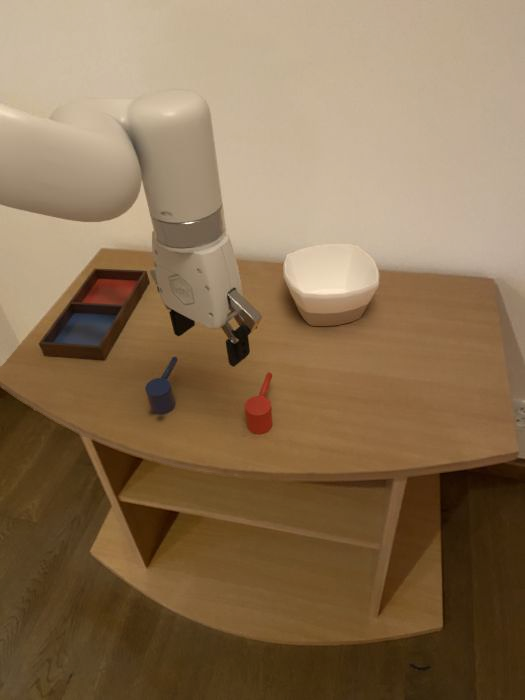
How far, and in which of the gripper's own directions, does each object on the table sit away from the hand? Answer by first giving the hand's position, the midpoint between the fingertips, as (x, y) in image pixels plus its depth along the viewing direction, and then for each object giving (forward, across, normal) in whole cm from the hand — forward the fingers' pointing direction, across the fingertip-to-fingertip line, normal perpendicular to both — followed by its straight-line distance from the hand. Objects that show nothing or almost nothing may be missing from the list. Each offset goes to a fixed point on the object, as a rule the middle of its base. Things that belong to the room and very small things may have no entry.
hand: (211, 344), depth 65 cm
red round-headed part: (+20, +1, +8) cm, 21 cm away
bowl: (+20, -7, +36) cm, 42 cm away
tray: (+20, -42, +7) cm, 47 cm away
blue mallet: (+20, -15, +1) cm, 25 cm away
